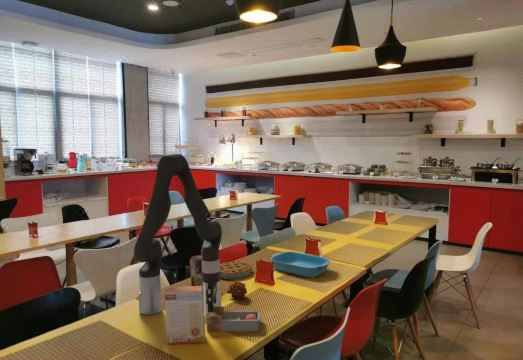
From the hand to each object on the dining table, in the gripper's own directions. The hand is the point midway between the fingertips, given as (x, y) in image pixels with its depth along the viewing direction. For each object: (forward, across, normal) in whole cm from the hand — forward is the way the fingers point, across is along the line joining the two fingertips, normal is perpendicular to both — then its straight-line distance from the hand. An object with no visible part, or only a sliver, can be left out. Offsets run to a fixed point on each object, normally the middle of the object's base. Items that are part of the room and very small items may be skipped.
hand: (212, 307), depth 164 cm
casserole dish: (+9, +70, -42) cm, 82 cm away
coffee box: (+8, +43, +12) cm, 45 cm away
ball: (+6, 0, -16) cm, 17 cm away
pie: (+8, +65, -3) cm, 65 cm away
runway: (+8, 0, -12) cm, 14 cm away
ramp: (+8, 0, -2) cm, 8 cm away
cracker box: (+8, -11, +9) cm, 17 cm away
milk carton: (+8, +15, +2) cm, 17 cm away
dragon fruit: (+8, +30, -8) cm, 32 cm away
